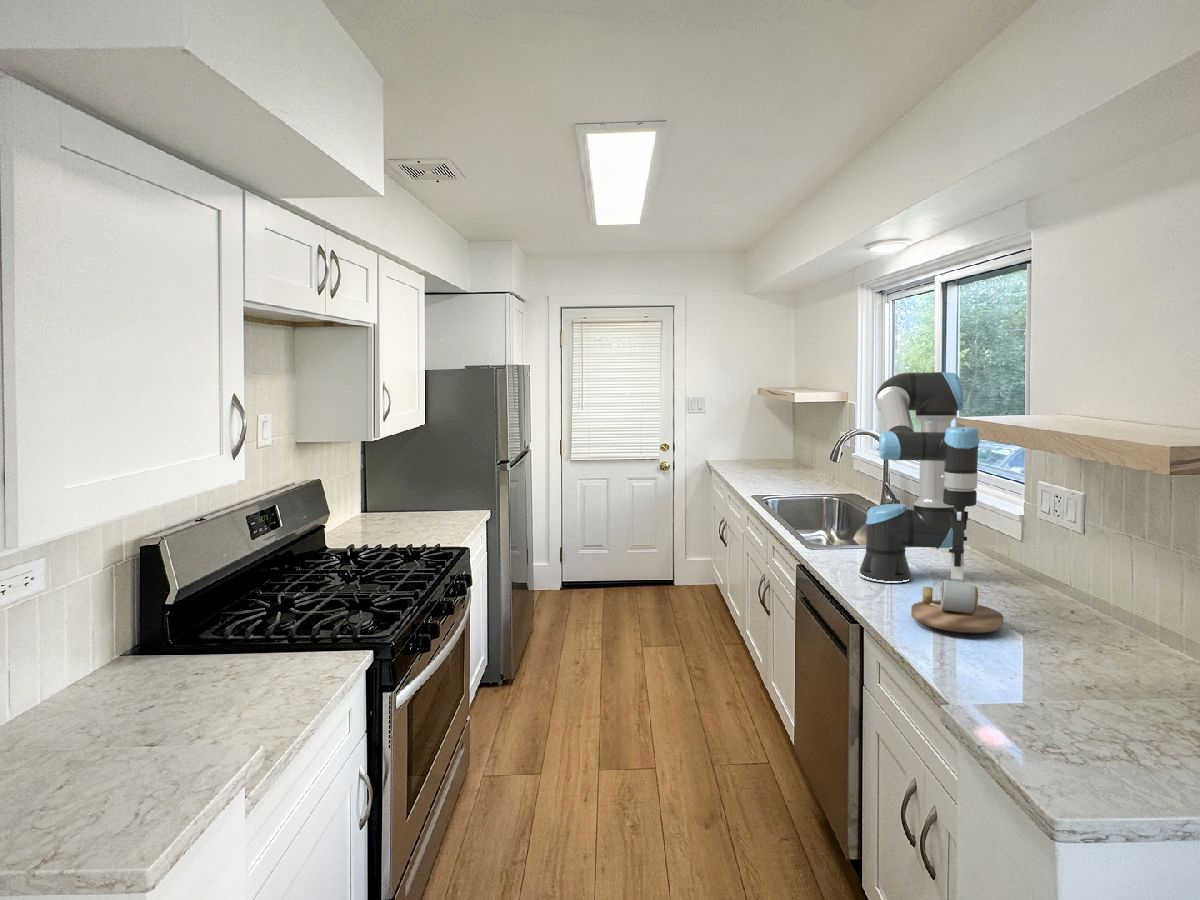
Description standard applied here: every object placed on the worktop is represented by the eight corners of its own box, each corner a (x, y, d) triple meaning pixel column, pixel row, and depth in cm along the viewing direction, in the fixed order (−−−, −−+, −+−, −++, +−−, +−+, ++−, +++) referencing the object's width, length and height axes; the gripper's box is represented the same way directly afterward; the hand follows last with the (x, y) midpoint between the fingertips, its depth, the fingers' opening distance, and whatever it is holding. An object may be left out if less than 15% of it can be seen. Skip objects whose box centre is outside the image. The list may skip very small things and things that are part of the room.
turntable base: (927, 614, 198) (927, 609, 198) (986, 621, 192) (986, 615, 191) (924, 630, 185) (924, 624, 185) (987, 638, 179) (987, 632, 179)
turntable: (1022, 624, 183) (1023, 601, 183) (962, 637, 174) (963, 613, 174) (950, 602, 202) (951, 581, 202) (893, 613, 193) (893, 591, 193)
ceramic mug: (977, 618, 183) (979, 587, 182) (941, 613, 186) (943, 583, 185) (973, 605, 193) (975, 577, 192) (939, 602, 196) (940, 573, 195)
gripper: (945, 481, 198) (942, 559, 200) (941, 495, 176) (939, 582, 178) (976, 483, 195) (973, 562, 197) (977, 497, 173) (974, 586, 175)
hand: (957, 572), depth 187 cm, fingers open, 13 cm apart
